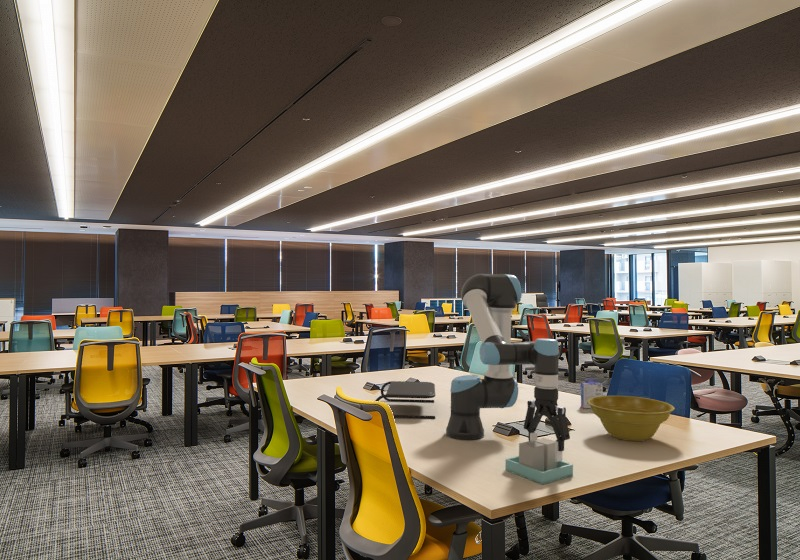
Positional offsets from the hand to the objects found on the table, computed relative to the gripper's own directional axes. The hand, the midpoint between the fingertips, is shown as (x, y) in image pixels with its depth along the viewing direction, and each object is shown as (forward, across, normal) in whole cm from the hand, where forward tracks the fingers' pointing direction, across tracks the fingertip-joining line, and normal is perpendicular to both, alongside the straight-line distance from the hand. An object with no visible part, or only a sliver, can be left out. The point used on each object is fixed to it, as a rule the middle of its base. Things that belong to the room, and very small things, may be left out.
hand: (545, 456), depth 172 cm
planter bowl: (+5, -10, +62) cm, 63 cm away
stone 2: (+4, 0, 0) cm, 4 cm away
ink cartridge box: (+5, -52, +96) cm, 109 cm away
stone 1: (+4, 0, -7) cm, 8 cm away
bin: (+5, 0, -3) cm, 6 cm away
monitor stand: (+5, -97, +13) cm, 98 cm away
